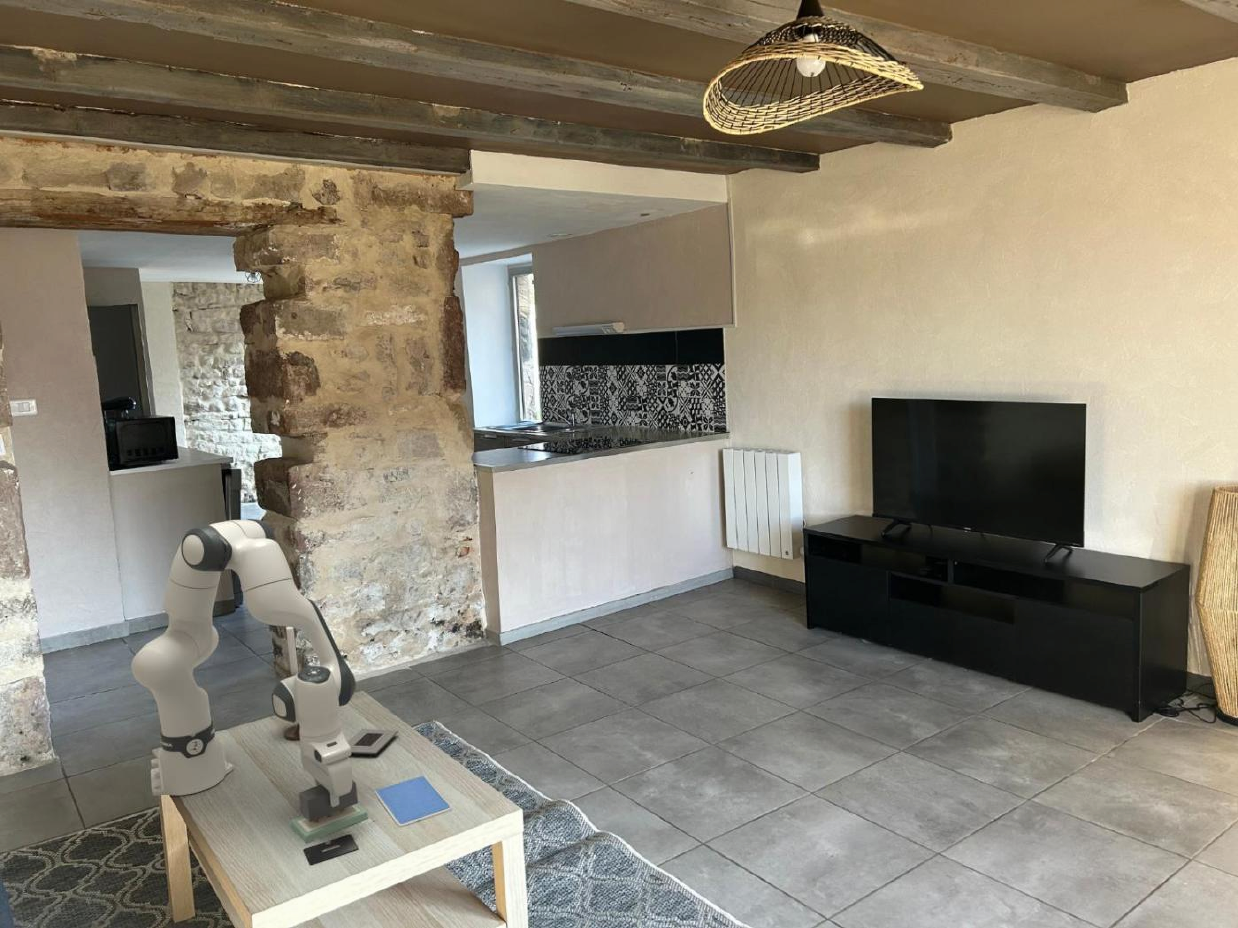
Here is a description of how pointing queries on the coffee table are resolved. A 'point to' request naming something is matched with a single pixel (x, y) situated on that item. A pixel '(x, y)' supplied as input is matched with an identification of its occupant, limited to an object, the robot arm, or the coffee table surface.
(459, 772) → the coffee table surface
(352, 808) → the header board
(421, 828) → the coffee table surface
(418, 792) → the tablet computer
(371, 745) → the grey flat piece
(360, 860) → the coffee table surface
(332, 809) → the block
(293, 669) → the candlestick
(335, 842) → the solid state drive
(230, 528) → the robot arm
